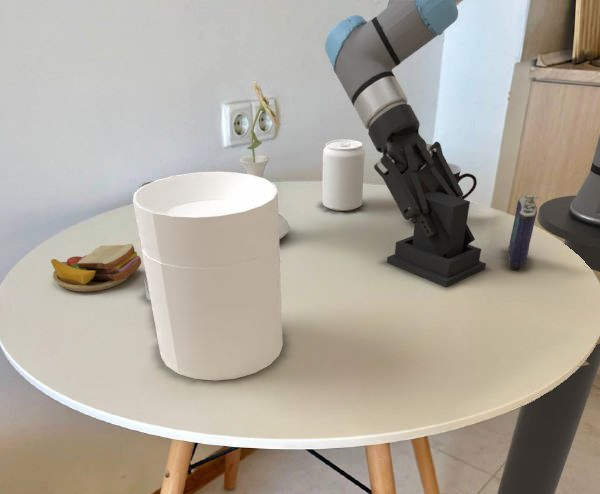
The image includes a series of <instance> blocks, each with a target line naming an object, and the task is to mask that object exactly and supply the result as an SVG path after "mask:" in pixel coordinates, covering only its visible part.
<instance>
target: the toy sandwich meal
mask: <svg viewBox="0 0 600 494" xmlns="http://www.w3.org/2000/svg"><path fill="white" fill-rule="evenodd" d="M141 258H142V257H141V256H140V255H138V252H137V251H135V247H134V244H133V243H129V244H115V245H113V244H110V245H109V244H108V245H100V246H98V247H97V248H95V249H94V250H93V251H92V252H90V253H88V254H85V255H83V256H71V257H69V258H67V259H66V261H60V260H58V259H55V258H52V259H51V260H50V263H51V265H52V268H53V269H54V271H53V273H52V279H53V281H54V282H55V283H56V284H57V285H58V286H61V287H63V288H64V289H66V290H69V291H73V292H80V293H81V292H83V293H88V292H89V293H90V292H99V291H103V290H108V289H110V288H113V287H116V286H118V285H120V284H122V283H123V282H125V281H126V280H127V279H128V278H129V276H130V275H131V274H133V273H135V272H136V271H137V270H138V269H139V268H140V267H141V265H142V259H141Z"/></svg>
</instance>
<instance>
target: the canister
mask: <svg viewBox="0 0 600 494" xmlns="http://www.w3.org/2000/svg"><path fill="white" fill-rule="evenodd" d="M155 180H156V181H154V180H152V181H153V182H151V183H149V184H147V185H144V186H142V187H141V188H140V189H139V188H138V189H137V190H136V191H135V192H134V193H133V197H132V204H133V210H134V215H135V221H136V227H137V230H138V236H139V239H140V244H141V254H142V259H143V265H144V271H145V275H146V276H145V278H146V283H147V288H148V291H149V293H150V299H151V301H150V304H151V309H152V315H153V320H154V325H155V326H154V327H155V332H156V337H157V343H158V349H159V354H160V358H161V359H162V361H163V363H164V364H165V366H166V367H167V368H169V369H170V370H172V371H174V372H175V373H176V374H178V375H181V376H183V377H187V378H189V379H193V380H201V381H202V380H204V381H216V382H217V381H225V380H226V381H227V380H235V379H240V378H243V377H246V376H250V375H253V374H256V373H258V372H260V371H261V370H264V369H265V368H267V367H269V366H270V365H271V364H272V363H273V362H275V361H276V359H278V357H279V356H280V355H281V352H282V348H283V344H284V342H283V340H284V339H283V311H282V283H281V280H282V279H281V278H282V277H281V251H280V239H279V237H278V228H279V217H278V213H279V191H278V189H277V186H276V185H275V183H273V182H271V181H270V180H268V179H267V178H264V177H263V178H261V177H257V176H254V175H249V174H247V173H243V172H242V173H241V172H233V171H203V172H202V171H201V172H189V173H183V174H176V175H171V176H167V177H164V178H160V179H155Z"/></svg>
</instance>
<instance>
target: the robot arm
mask: <svg viewBox="0 0 600 494" xmlns="http://www.w3.org/2000/svg"><path fill="white" fill-rule="evenodd" d="M463 1H464V0H388V2H387V5H386V8H384V9H383V10H382V11H381V12H380V13H379V14H378V15H377V16H374V17H373V18H372V19H370V20H369V21H368V20H365V18H364V17H363V16H361V15H359V14H353V15H349V16H348V17H347V18H346V19H342V20H340V21H338V23H337V24H334V26H333V27H332V29H331V30H330V31H329V33H328V34H327V36H326V39H325V43H324V50H325V53H326V55H327V57H328V59H329V62H330V64H331V66H332V70H333V72H334V74H335V75H336V77H337V79H338V81H339V82H340V84H341V86H342V88H343V89H344V92H345V93H346V95H347V97H348V98H349V101H350V103H351V104H352V107H353V108H354V109H355V111H356V113H357V115H358V117H359V119H360V121H361V122H362V124H363V126H364V128H365V129H366V130H368V131H367V132H368V133H367V134H368V137H369V139H370V140H371V142H372V144H373V146H374V148H375V150H376V152H378V153H381V154H382V157H381V158H379V160H378V161H377V162H375V163H374V165H373V168H374V170H375V171H376V172H377V173H378V175H379V176H380V177H381V178H382V179H383V182H384V183H385V185H386V187H387V189H388V190H389V193H390V194H391V197H392V198H393V200H394V202H395V204H396V206H397V208H398V209H399V212H400V213H401V215H402V217H403V218H404V220H405V221H410V222H411V223H412V224H413V225H415V223H416V222H417V221H418V222H419V224H420V226H421V228H422V230H423V232H424V233H425V235H426V237H427V238H429V239H430V241H431V243H432V245H433V247H434V248H435V250H436V252H437V254H438V255H439V256H441V257H443V256H444V255H445V254H447V253H448V252H450V251H451V250H453V249H454V247H453V245H452V243H451V242H450V240H449V238H448V236H447V234H446V232H445V230H444V228H443V227H442V225H441V223H440V221H439V219H438V217H437V215H436V213H435V212H434V211H433V212H430V213H429V214H428V212H429V208H428V205H427V202H426V200H425V197H424V194H423V191H422V188H421V185H420V182H419V179H418V178H421V179H422V181H423V182H424V183H425V185H426V186H427V187H428V189H429V190H430V191H431V192H432V191H437V192H440V193H444V194H447V195H450V196H454V197H457V198H460V199H462V196H464V192H463V190H462V189H461V186H460V184H459V183H458V182H457V180H456V178H455V177H454V175H453V173H452V171H451V169H450V167H449V165H448V163H449V162H448V161H447V159H446V157H445V156H444V152H443V149H442V144H441V143H440V142H439V141H435V142H434V143H432V144H429V143H427V142H426V140H425V139H424V138H423V137H422V136H421V135H420V131H419V129H420V125H421V124H420V121H419V119H418V116H417V115H416V113H415V111H414V109H413V108H412V105H410V104H408V96H407V95H406V94H405V92H404V90H403V88H402V86H401V85H400V83H399V81H398V79H397V78H396V76H395V74H394V73H393V69H394V68H396V67H398V66H400V65H401V64H402V62H404V61H405V60H406V59H408V58H409V57H411V56H412V55H413V54H415V53H416V52H417V51H419V50H420V49H422V48H423V47H424V46H426V45H427V44H428V43H430V42H431V41H432V40H433V39H435V38H436V37H438V36H441V35H443V33H444V31H445V30H447V29H448V28H449V27H450V26H452V24H454V23H455V22H456V21H457V19H458V17H459V9H458V6H459V4H461V3H462V2H463ZM425 164H426V165H425ZM424 165H425V167H423V166H424ZM422 167H423V168H422ZM421 168H422V169H421ZM574 196H575V195H574ZM569 214H570V216H571V217H572V218H573V219H575V220H577V221H579V222H581V223H583V224H586V225H589V226H593V227H597V228H600V134H599V136H598V139H597V143H596V147H595V151H594V155H593V158H592V162H591V165H590V170H589V173H588V174H587V176H586V178H585V180H584V181H583V183H582V184H581V187H580V188H579V190H578V191H577V193H576V196H575V198H574V199H573V201H572V202H571V206H570V209H569ZM474 241H476V238H475V236H474V235H473V233H472V231H471V229H470V227H469V225H468V223H467V224H466V230H465V236H464V243H463V248H464V247H465V246H467V245H468V244H469V245H470V244H471V243H472V242H474Z"/></svg>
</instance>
